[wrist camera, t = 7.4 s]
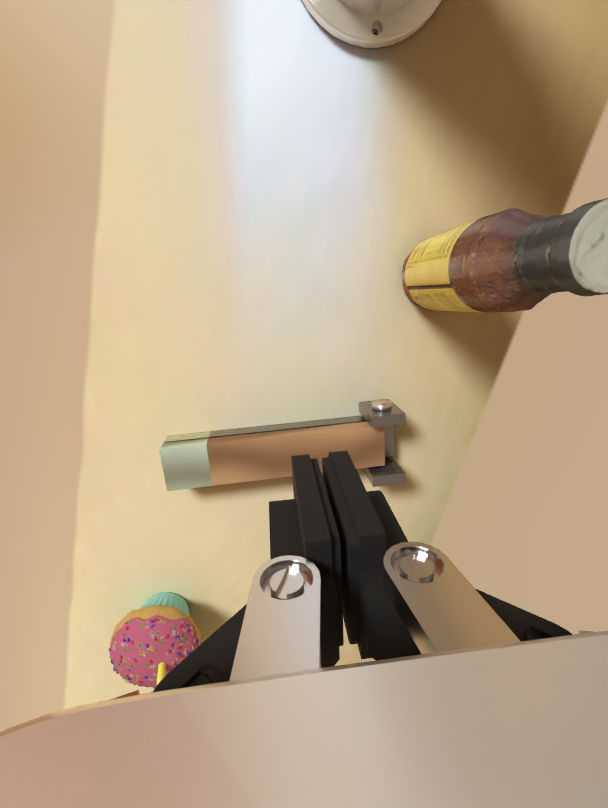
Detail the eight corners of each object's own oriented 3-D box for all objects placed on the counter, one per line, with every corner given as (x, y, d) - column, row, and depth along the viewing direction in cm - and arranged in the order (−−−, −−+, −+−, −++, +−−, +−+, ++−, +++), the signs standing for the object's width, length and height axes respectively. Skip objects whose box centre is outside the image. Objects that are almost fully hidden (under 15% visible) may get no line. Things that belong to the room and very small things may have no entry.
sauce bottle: (471, 293, 37) (691, 301, 18) (409, 319, 37) (565, 354, 18) (452, 221, 35) (678, 148, 16) (387, 249, 35) (536, 208, 16)
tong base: (164, 415, 37) (151, 432, 33) (388, 393, 39) (404, 406, 35) (178, 492, 40) (168, 517, 35) (389, 467, 41) (404, 488, 37)
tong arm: (163, 443, 36) (159, 449, 35) (379, 420, 38) (384, 425, 36) (170, 483, 37) (167, 491, 36) (380, 458, 39) (384, 465, 38)
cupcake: (191, 568, 42) (166, 673, 31) (217, 628, 45) (202, 746, 33) (112, 591, 42) (57, 706, 31) (142, 651, 45) (102, 777, 33)
